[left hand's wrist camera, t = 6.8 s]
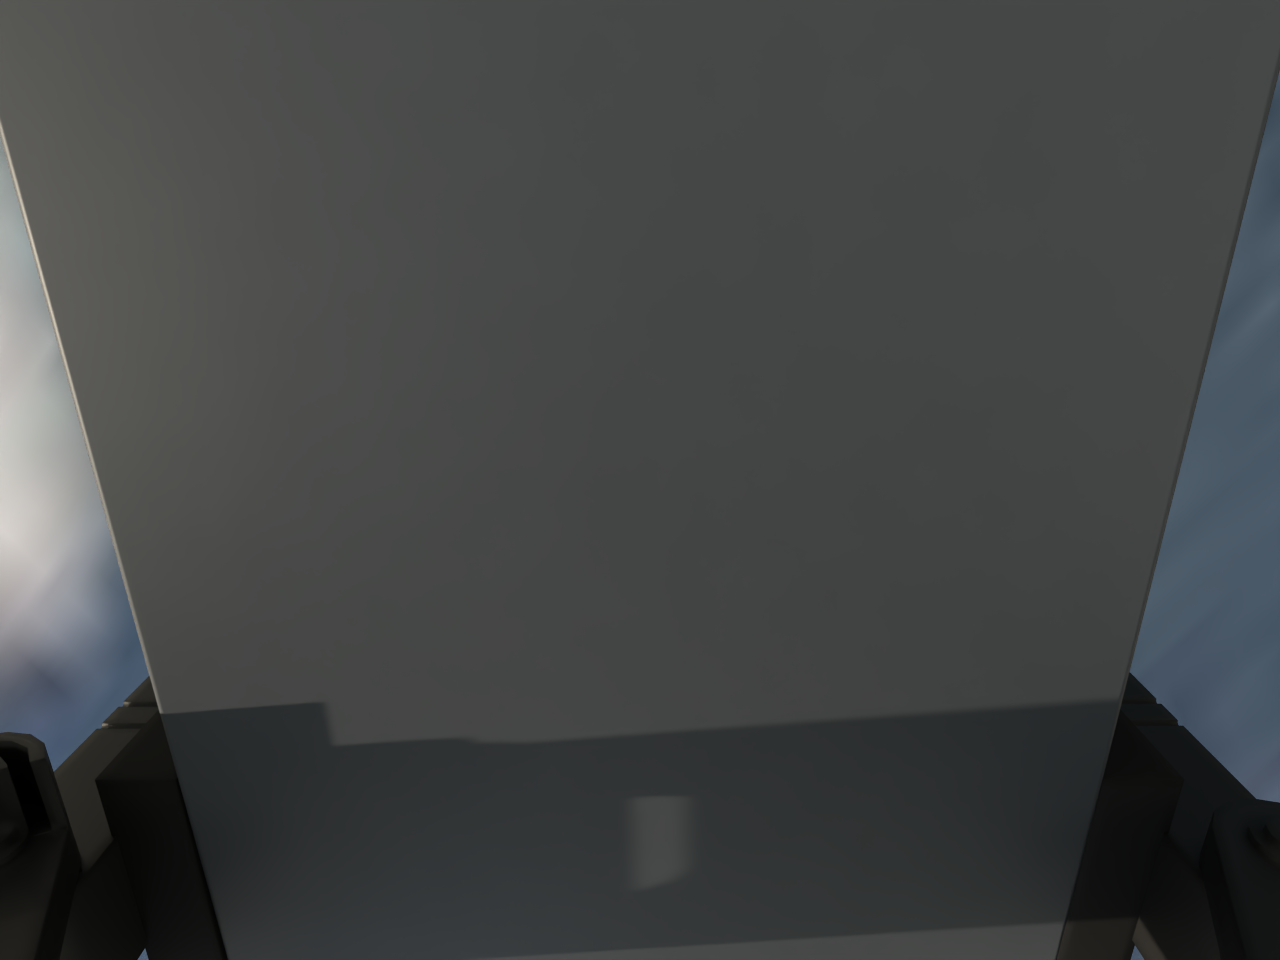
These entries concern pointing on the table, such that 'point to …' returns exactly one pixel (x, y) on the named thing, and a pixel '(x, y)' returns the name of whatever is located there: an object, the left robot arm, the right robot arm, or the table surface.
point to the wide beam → (637, 443)
